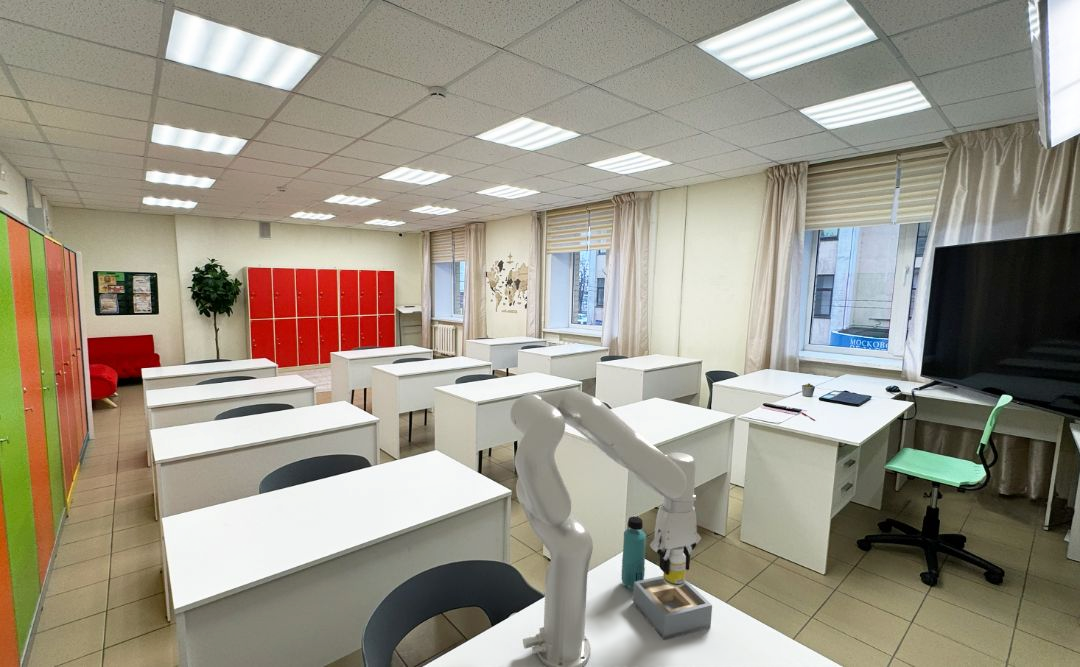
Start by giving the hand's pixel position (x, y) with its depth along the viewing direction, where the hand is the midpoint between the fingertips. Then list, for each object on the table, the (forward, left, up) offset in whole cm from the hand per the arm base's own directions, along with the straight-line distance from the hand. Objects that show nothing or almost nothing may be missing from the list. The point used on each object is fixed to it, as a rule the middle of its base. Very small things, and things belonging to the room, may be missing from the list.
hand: (674, 568), depth 119 cm
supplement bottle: (0, 0, -4) cm, 4 cm away
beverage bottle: (-4, +13, -13) cm, 19 cm away
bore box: (0, 0, -13) cm, 13 cm away
